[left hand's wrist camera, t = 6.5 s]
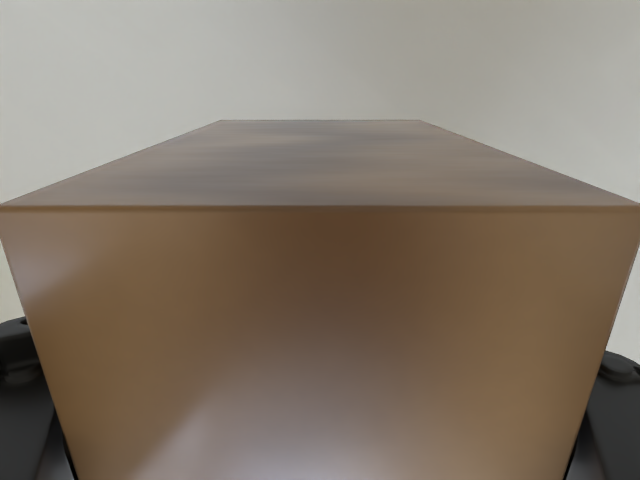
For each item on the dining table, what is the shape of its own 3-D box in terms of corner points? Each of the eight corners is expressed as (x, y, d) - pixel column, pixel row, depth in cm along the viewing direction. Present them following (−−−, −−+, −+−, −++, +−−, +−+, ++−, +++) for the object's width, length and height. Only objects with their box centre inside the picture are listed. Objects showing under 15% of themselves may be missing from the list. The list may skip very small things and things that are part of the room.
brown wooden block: (421, 119, 15) (655, 206, 5) (402, 321, 18) (512, 639, 8) (219, 119, 15) (-15, 206, 4) (237, 321, 18) (127, 640, 8)
